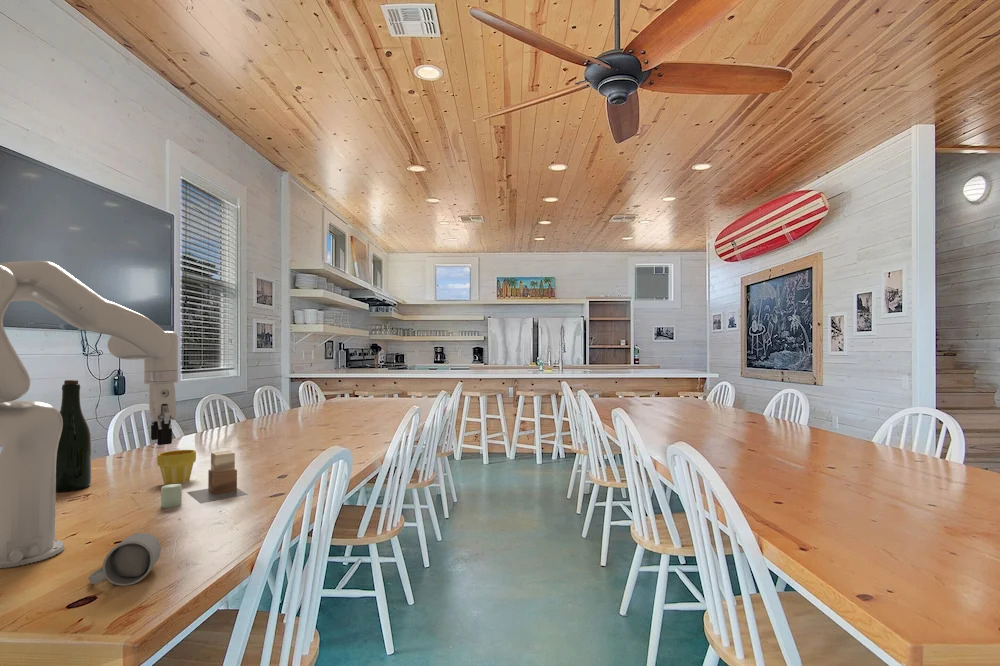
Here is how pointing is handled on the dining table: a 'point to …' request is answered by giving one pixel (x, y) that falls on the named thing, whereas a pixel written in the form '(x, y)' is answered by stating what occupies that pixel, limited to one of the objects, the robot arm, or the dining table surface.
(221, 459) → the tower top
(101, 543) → the dining table surface
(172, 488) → the pale green rounded piece
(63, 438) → the beer bottle
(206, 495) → the slate board
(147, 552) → the ceramic mug
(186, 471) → the plant pot
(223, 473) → the tower base
